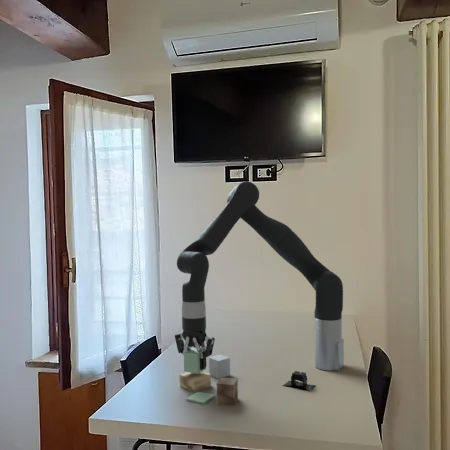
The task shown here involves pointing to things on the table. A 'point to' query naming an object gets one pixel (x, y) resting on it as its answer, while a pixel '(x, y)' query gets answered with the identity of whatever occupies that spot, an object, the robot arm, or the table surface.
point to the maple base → (195, 381)
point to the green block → (192, 361)
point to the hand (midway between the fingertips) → (195, 367)
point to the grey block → (219, 366)
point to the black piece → (299, 385)
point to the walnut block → (227, 391)
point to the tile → (200, 397)
